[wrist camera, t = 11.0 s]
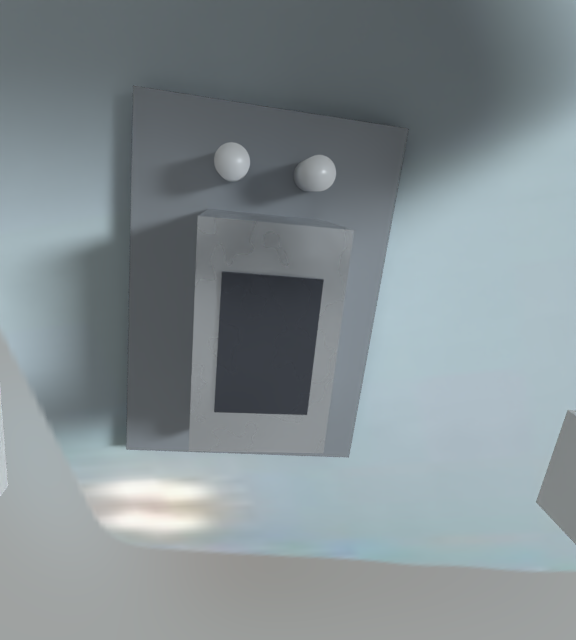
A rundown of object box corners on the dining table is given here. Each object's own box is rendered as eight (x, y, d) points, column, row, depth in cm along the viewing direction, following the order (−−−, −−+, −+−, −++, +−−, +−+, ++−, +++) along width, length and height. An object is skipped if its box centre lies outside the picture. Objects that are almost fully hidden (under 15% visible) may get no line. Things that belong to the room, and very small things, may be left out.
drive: (209, 208, 22) (197, 215, 16) (320, 219, 23) (355, 230, 16) (200, 382, 25) (188, 453, 18) (300, 386, 26) (324, 455, 19)
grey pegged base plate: (138, 91, 22) (116, 68, 18) (400, 131, 24) (433, 119, 20) (131, 438, 27) (112, 481, 23) (344, 446, 29) (361, 487, 25)
